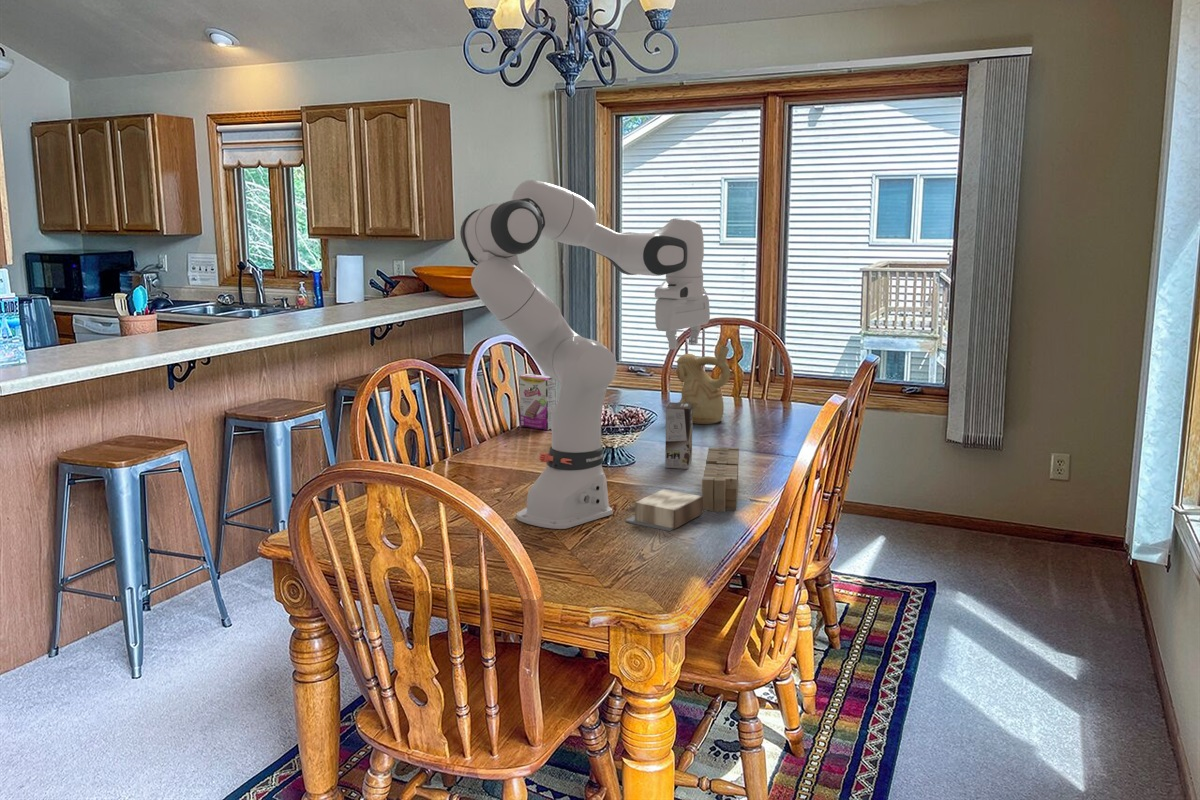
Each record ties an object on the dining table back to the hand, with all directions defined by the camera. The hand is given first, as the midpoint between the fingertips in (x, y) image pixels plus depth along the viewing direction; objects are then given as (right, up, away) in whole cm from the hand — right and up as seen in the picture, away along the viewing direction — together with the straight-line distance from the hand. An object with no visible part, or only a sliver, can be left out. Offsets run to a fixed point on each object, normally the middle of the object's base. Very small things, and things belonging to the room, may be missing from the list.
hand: (683, 346), depth 221 cm
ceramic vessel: (+13, -20, +78) cm, 81 cm away
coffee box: (+1, -30, +25) cm, 39 cm away
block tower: (+9, -35, -1) cm, 37 cm away
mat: (-6, -39, -19) cm, 43 cm away
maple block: (-1, -37, -23) cm, 44 cm away
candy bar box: (-40, -22, +69) cm, 83 cm away
